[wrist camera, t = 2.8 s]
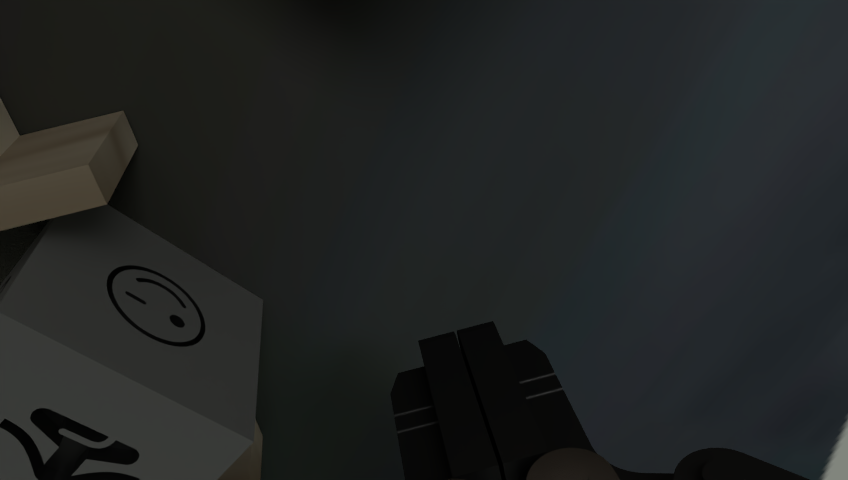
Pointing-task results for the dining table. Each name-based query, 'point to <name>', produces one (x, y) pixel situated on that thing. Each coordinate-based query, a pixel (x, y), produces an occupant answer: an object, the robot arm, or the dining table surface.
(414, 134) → the dining table surface
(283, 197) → the dining table surface
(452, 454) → the robot arm
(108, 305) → the dice cube
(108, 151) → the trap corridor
